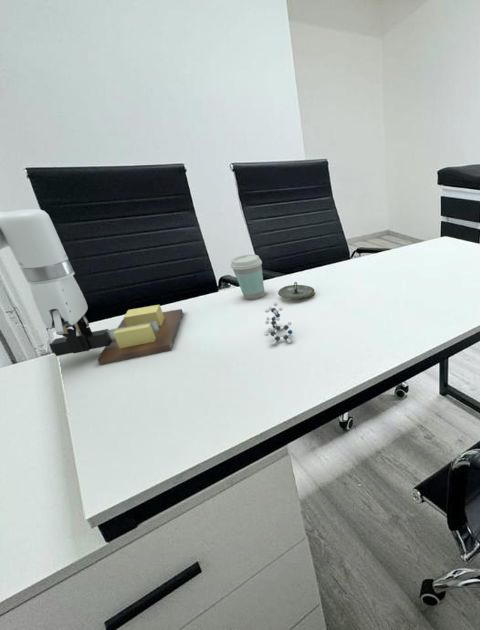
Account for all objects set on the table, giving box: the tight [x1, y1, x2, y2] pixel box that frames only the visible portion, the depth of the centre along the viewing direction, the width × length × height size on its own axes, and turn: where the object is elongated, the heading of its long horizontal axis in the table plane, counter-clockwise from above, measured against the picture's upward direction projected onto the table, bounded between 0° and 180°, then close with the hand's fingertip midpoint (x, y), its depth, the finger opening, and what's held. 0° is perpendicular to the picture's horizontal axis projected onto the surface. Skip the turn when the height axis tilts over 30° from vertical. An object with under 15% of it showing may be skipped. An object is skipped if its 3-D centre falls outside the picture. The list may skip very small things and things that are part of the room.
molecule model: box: [264, 302, 293, 346], centre depth 93 cm, size 6×12×8 cm, turn 31°
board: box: [96, 308, 184, 366], centre depth 97 cm, size 14×22×2 cm, turn 22°
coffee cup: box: [230, 254, 265, 301], centre depth 116 cm, size 8×8×12 cm
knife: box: [49, 321, 161, 357], centre depth 89 cm, size 20×3×3 cm, turn 112°
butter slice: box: [113, 324, 156, 348], centre depth 90 cm, size 7×2×4 cm, turn 112°
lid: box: [277, 281, 315, 300], centre depth 115 cm, size 11×10×5 cm
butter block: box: [123, 304, 164, 326], centre depth 99 cm, size 7×5×4 cm
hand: (84, 347), depth 88 cm, fingers closed on knife, 3 cm apart
